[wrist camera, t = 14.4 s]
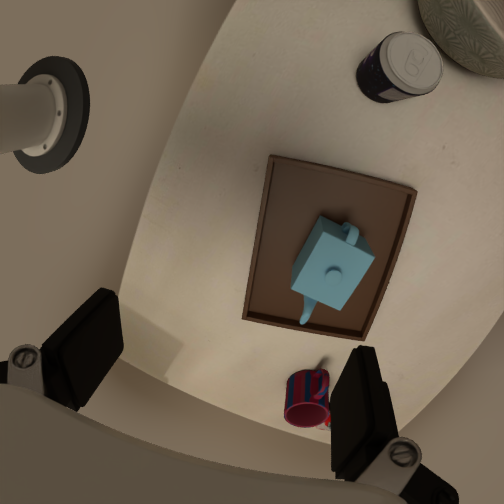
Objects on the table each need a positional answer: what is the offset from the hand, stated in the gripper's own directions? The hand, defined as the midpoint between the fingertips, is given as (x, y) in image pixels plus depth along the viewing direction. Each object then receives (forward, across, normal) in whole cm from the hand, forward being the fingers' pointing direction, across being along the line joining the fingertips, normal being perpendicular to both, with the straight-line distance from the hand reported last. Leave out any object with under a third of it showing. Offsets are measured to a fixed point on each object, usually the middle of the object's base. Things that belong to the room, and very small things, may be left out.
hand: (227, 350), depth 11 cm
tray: (+26, -7, +6) cm, 28 cm away
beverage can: (+26, -9, -16) cm, 32 cm away
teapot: (+26, -7, +6) cm, 28 cm away
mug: (+26, -11, +27) cm, 39 cm away
